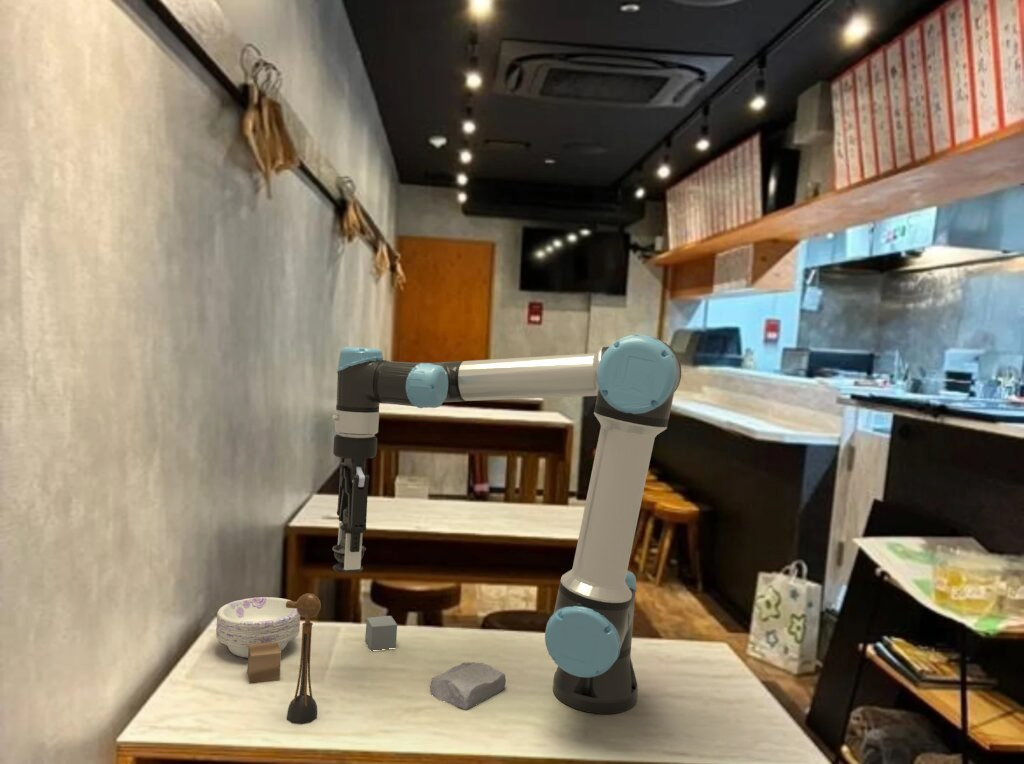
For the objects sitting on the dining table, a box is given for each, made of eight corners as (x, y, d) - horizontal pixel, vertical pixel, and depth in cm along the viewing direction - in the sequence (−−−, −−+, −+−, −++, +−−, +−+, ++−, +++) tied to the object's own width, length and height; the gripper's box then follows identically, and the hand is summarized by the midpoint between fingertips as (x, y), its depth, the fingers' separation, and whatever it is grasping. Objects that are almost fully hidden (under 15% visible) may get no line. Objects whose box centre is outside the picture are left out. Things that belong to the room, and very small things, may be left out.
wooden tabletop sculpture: (275, 721, 116) (282, 596, 116) (287, 707, 121) (294, 586, 120) (311, 725, 116) (318, 600, 115) (322, 711, 120) (329, 590, 120)
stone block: (424, 705, 129) (468, 713, 123) (422, 676, 129) (466, 683, 124) (467, 685, 139) (510, 691, 133) (465, 658, 139) (508, 664, 133)
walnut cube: (279, 680, 130) (281, 652, 130) (249, 684, 128) (251, 656, 128) (276, 668, 135) (277, 641, 134) (247, 671, 133) (248, 644, 132)
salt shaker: (371, 567, 133) (375, 501, 133) (351, 575, 128) (355, 506, 128) (345, 561, 136) (348, 496, 135) (324, 569, 131) (328, 501, 130)
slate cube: (395, 649, 147) (397, 624, 147) (370, 652, 145) (372, 626, 144) (389, 639, 151) (390, 615, 151) (365, 642, 149) (366, 617, 149)
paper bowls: (257, 627, 153) (259, 589, 152) (315, 645, 146) (317, 605, 146) (196, 652, 139) (199, 611, 138) (257, 673, 132) (260, 629, 132)
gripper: (325, 427, 138) (318, 549, 139) (345, 441, 121) (336, 581, 122) (365, 428, 141) (358, 547, 142) (390, 442, 124) (381, 578, 125)
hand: (348, 563), depth 132 cm, fingers closed on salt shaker, 6 cm apart
